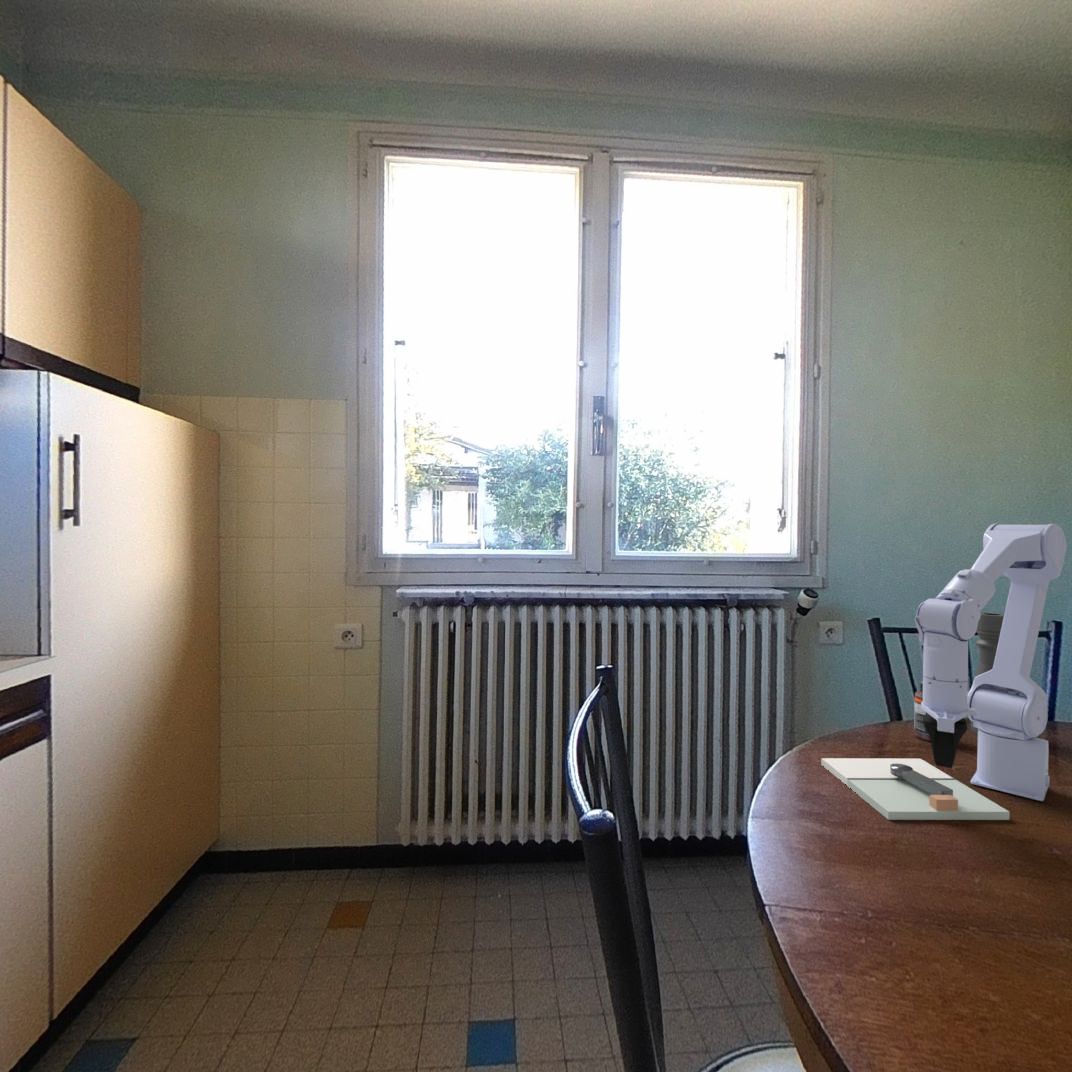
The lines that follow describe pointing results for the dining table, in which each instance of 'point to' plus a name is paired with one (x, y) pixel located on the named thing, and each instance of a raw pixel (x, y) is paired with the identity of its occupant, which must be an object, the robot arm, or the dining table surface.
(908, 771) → the bar
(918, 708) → the supplement bottle
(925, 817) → the plate
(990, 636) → the candle holder
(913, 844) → the dining table surface
